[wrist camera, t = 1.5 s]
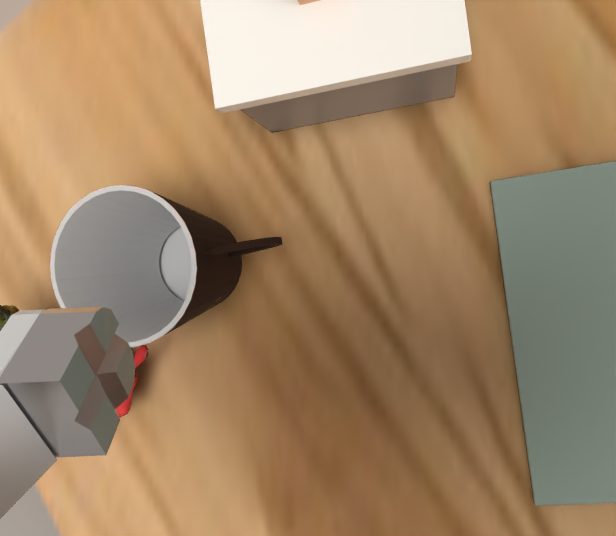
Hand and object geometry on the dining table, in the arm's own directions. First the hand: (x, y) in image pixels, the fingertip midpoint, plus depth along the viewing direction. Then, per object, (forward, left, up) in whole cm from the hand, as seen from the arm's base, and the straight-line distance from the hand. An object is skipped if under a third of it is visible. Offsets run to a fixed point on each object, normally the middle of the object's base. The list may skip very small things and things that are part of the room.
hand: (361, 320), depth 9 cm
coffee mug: (+6, -12, -28) cm, 31 cm away
